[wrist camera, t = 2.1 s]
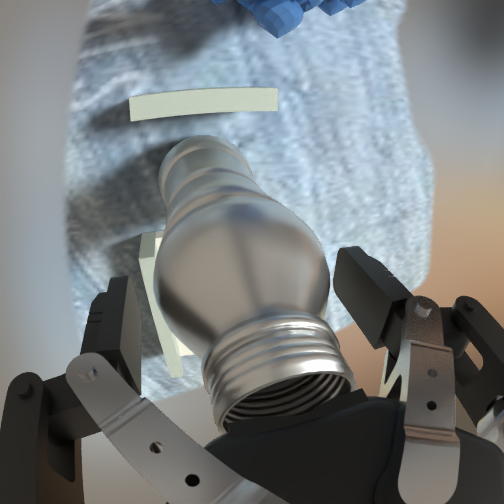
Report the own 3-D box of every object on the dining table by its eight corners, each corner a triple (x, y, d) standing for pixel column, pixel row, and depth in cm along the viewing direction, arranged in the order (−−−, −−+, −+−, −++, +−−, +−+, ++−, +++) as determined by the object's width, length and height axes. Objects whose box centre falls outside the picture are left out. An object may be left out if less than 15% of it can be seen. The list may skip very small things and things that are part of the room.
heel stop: (137, 95, 19) (128, 97, 15) (259, 86, 21) (278, 88, 17) (138, 114, 20) (130, 121, 16) (259, 105, 22) (277, 110, 18)
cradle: (142, 233, 25) (138, 258, 21) (268, 218, 27) (283, 240, 24) (169, 349, 32) (171, 377, 29) (264, 334, 34) (274, 361, 31)
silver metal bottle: (193, 112, 21) (285, 252, 4) (260, 163, 24) (435, 357, 8) (143, 180, 22) (106, 441, 6) (211, 223, 26) (289, 464, 9)
